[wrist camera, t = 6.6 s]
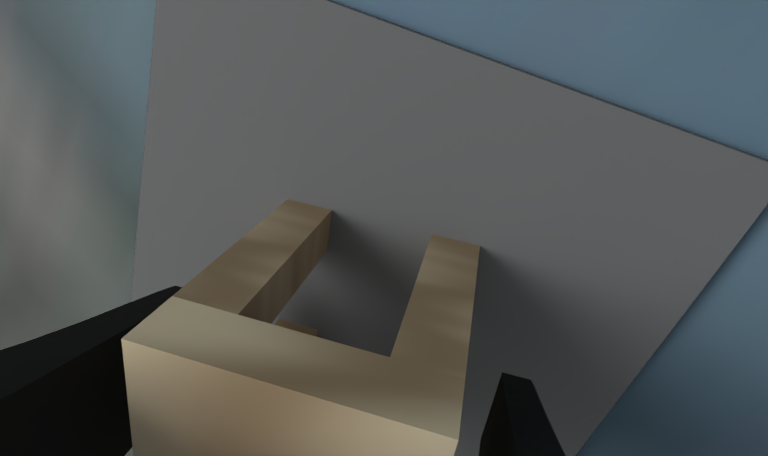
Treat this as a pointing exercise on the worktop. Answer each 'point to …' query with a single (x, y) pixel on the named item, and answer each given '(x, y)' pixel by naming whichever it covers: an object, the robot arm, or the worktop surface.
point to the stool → (297, 358)
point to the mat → (435, 193)
